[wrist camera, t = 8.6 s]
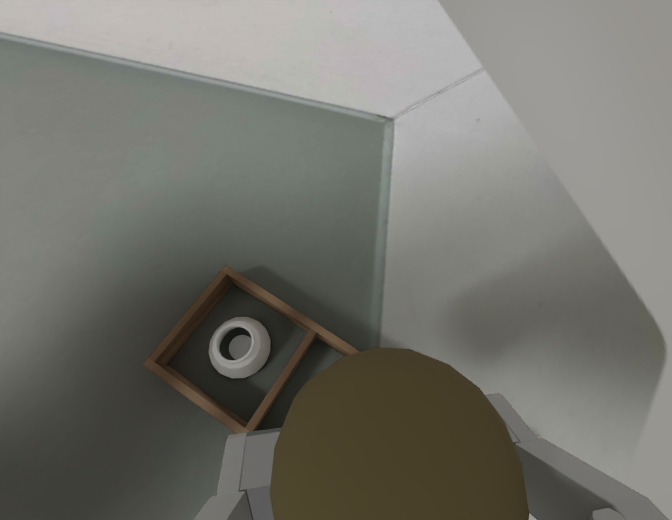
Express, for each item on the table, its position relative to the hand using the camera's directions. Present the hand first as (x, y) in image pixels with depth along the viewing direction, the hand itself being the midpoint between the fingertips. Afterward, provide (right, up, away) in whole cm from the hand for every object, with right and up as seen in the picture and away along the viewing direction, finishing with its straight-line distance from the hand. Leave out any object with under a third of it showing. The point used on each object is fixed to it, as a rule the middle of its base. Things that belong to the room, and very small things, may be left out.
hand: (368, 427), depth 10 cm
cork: (0, -3, +6) cm, 7 cm away
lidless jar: (-9, -3, +19) cm, 21 cm away
